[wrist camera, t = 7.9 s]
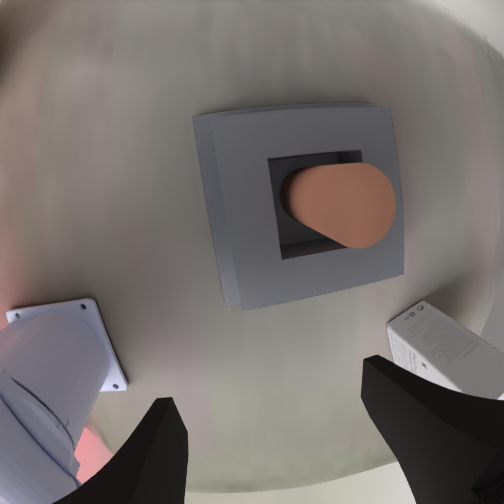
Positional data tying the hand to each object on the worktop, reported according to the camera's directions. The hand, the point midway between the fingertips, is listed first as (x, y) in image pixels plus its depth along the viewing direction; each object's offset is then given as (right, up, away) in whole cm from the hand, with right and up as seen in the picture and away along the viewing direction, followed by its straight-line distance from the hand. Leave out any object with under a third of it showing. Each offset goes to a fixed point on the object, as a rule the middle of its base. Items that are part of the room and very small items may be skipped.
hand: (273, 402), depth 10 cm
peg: (+3, +9, +8) cm, 12 cm away
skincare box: (+13, -2, +13) cm, 19 cm away
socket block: (+2, +9, +9) cm, 13 cm away
